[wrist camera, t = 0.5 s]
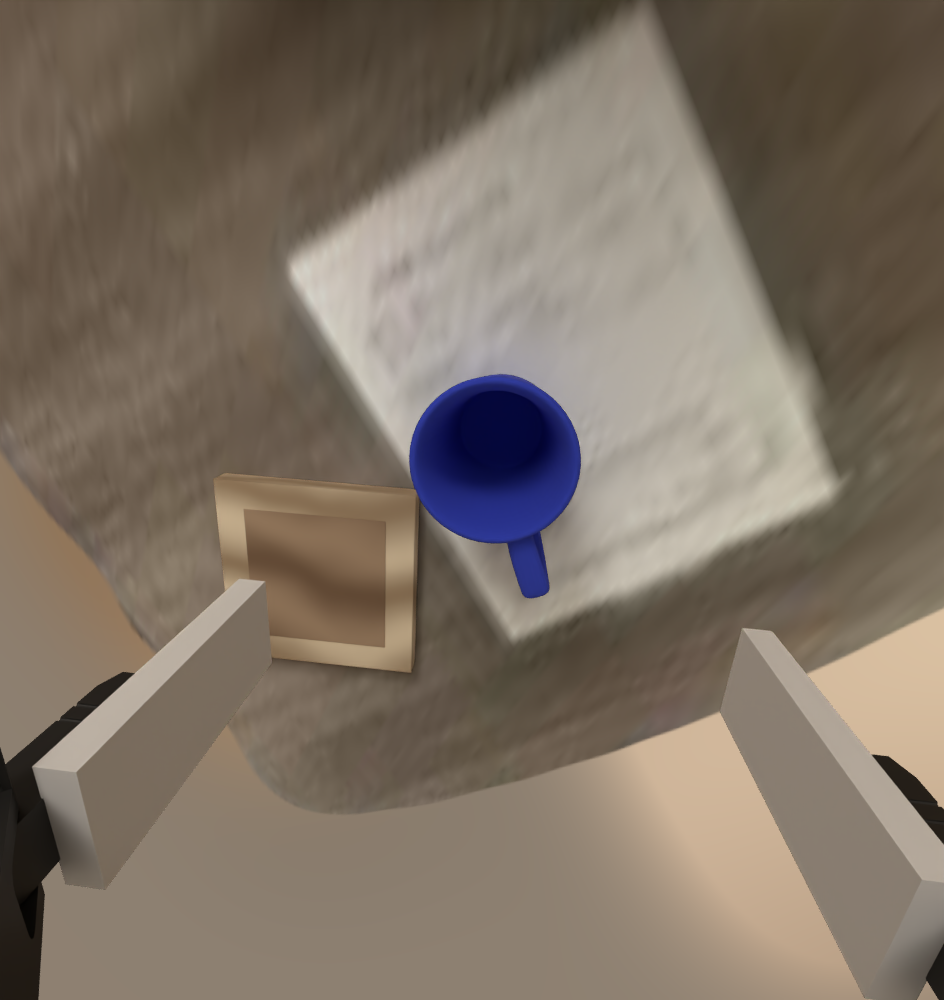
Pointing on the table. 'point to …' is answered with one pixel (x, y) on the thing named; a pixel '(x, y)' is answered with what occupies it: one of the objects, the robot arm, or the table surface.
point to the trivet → (326, 565)
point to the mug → (497, 467)
